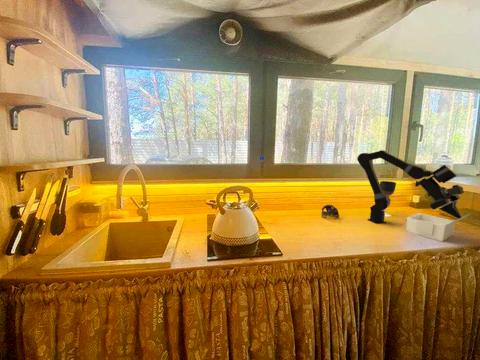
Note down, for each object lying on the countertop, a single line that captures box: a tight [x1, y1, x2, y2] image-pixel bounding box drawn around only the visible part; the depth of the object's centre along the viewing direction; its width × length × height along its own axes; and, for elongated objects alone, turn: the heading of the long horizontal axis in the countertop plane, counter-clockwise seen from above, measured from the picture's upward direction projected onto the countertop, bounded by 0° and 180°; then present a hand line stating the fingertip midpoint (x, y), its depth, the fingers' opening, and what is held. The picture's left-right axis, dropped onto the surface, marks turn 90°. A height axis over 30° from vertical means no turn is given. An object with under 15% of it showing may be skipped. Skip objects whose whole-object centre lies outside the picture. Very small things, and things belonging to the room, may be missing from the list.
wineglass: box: [379, 180, 397, 217], centre depth 139 cm, size 8×9×20 cm
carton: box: [405, 212, 456, 243], centre depth 112 cm, size 15×15×7 cm
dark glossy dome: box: [321, 204, 340, 219], centre depth 136 cm, size 12×10×8 cm
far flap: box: [445, 212, 472, 226], centre depth 103 cm, size 7×12×1 cm
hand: (460, 218), depth 102 cm, fingers closed, pressing on far flap
